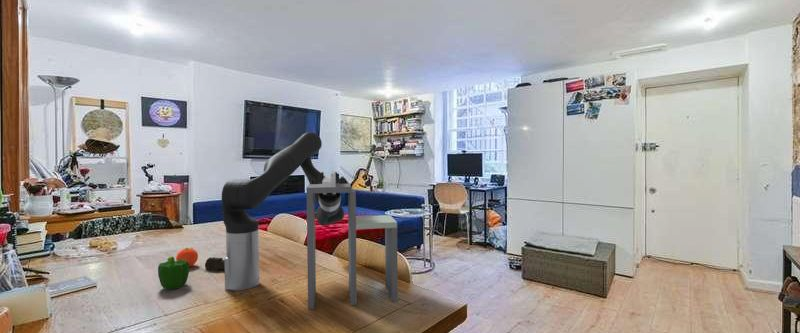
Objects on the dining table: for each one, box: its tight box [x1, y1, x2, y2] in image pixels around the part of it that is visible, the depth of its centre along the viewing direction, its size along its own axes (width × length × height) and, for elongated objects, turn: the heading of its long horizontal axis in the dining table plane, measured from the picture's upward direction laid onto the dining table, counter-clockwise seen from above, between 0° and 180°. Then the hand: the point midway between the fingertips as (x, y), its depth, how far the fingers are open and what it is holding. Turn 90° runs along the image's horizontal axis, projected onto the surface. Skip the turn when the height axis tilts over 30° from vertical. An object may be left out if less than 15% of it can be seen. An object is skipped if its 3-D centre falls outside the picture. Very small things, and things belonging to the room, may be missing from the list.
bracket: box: [322, 170, 336, 187], centre depth 101 cm, size 4×20×4 cm, turn 11°
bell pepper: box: [157, 256, 190, 290], centre depth 107 cm, size 8×8×10 cm
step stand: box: [306, 183, 399, 310], centre depth 99 cm, size 24×12×32 cm, turn 101°
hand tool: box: [204, 257, 225, 272], centre depth 124 cm, size 19×4×5 cm, turn 81°
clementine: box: [175, 247, 199, 268], centre depth 128 cm, size 8×7×7 cm
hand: (329, 174), depth 106 cm, fingers closed on bracket, 3 cm apart
